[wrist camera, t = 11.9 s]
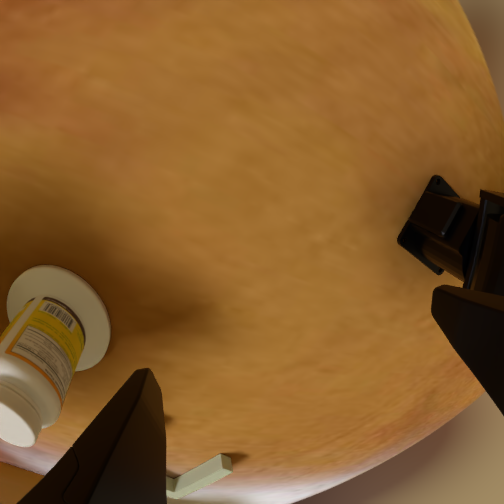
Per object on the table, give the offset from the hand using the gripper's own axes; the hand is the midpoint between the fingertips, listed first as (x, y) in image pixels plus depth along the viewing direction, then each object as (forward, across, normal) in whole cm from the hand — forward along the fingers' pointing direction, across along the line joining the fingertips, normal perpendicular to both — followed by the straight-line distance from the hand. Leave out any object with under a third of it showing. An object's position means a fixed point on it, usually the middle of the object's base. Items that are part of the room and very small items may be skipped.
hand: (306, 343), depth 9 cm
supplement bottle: (+12, +15, +4) cm, 20 cm away
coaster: (+13, +15, +4) cm, 20 cm away
